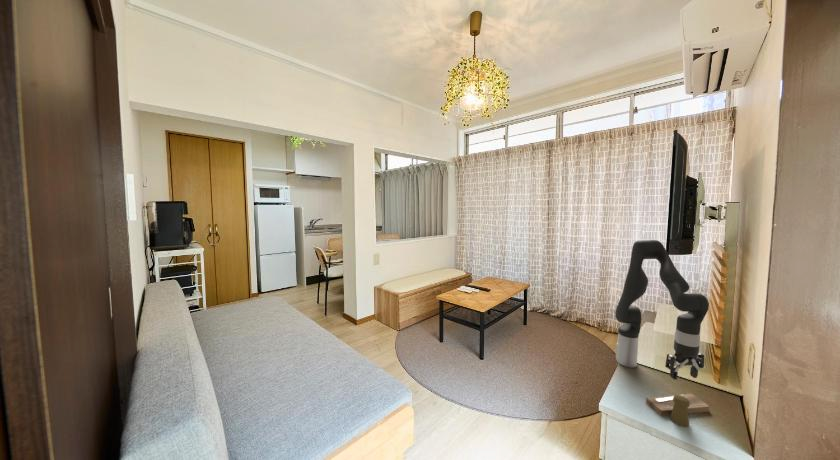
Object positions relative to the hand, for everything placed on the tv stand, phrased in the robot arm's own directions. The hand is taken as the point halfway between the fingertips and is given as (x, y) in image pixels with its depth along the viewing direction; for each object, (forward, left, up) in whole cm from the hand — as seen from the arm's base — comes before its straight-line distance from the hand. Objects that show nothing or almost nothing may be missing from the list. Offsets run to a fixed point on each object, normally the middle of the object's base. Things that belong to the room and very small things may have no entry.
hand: (683, 377), depth 119 cm
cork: (0, 0, -20) cm, 20 cm away
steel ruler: (-9, +5, -18) cm, 20 cm away
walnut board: (-7, +6, -20) cm, 22 cm away
